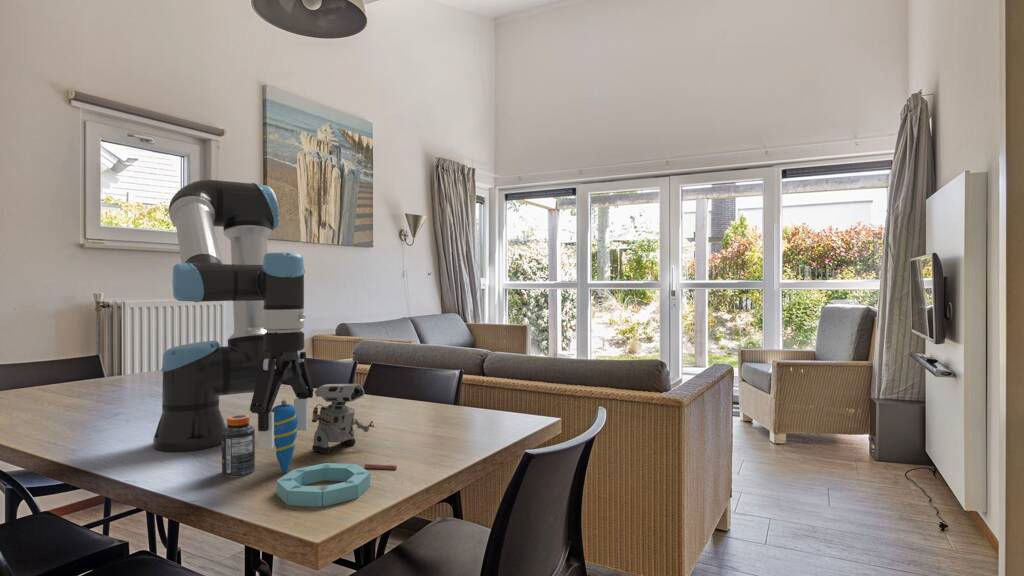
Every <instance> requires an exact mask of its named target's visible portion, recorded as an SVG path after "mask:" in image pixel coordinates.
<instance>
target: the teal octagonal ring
mask: <svg viewBox="0 0 1024 576" xmlns="http://www.w3.org/2000/svg"><path fill="white" fill-rule="evenodd" d="M325 481H334V482H337V483H333V484H330V485H324V486H318V485H317V486H316V485H315V486H313V485H311V484H315V483H319V482H325ZM370 487H371V472H370V471H369V470H367V469H366V468H365V467H364V468H363V467H362V466H361V465H359V464H357V463H356V464H355V463H336V462H335V463H331V462H324V463H320V464H315V465H309V466H305V467H300V468H294V469H291V470H290V471H289V472H287V473H285V474H283V476H281V477H280V478H278V479H277V480H276V496H277V497H279V498H280V499H281V501H283V502H284V503H285V504H286V505H287V506H296V507H297V506H300V507H314V508H317V507H319V508H323V507H328V506H332V505H336V504H337V505H338V504H340V503H344V502H349V501H352V500H357V499H358V498H360V497H361V496H362V494H364V493H365V492H366V491H367V490H368V489H369V488H370Z"/></svg>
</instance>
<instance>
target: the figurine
mask: <svg viewBox="0 0 1024 576" xmlns="http://www.w3.org/2000/svg"><path fill="white" fill-rule="evenodd" d="M314 394H315V396H316V397H317V398H318V397H319V398H320V397H321V398H322V399H323V400H324V401H325V402H326V403H327V402H328V403H330V404H328V405H323V404H320V403H319V404H316V406H315V407H313V409H312V410H313V411H312V417H311V418H312V419H311V422H312V423H317V421H318V425H317V429H316V431H315V433H314V435H313V445H312V447H311V448H312V451H314V453H321V454H324V455H325V454H329V452H331V450H330V446H329V443H336V444H337V443H340V445H347V446H350V447H351V446H355V444H356V438H355V431H354V426H356V428H357V429H361V430H362V431H363V432H364V433H368V432H369V431H370V428H371V427H372V428H375V426H374V421H373V420H371V422H370V423H369V424H368V425H365V424H363V423H362V422H361V421H359V420H358V418H355V411H356V410H355V408H353V407H350V406H349V405H347V402H348V403H349V402H350V403H351V402H354V401H356V400H359V399H362V398H364V397H365V389H364V388H363V387H362V385H361V384H360V383H329V384H328V383H326V384H323V385H321V386H319V387H318V388H316V390H315V391H314ZM318 406H320V410H319V407H318ZM318 413H319V414H318Z"/></svg>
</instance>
